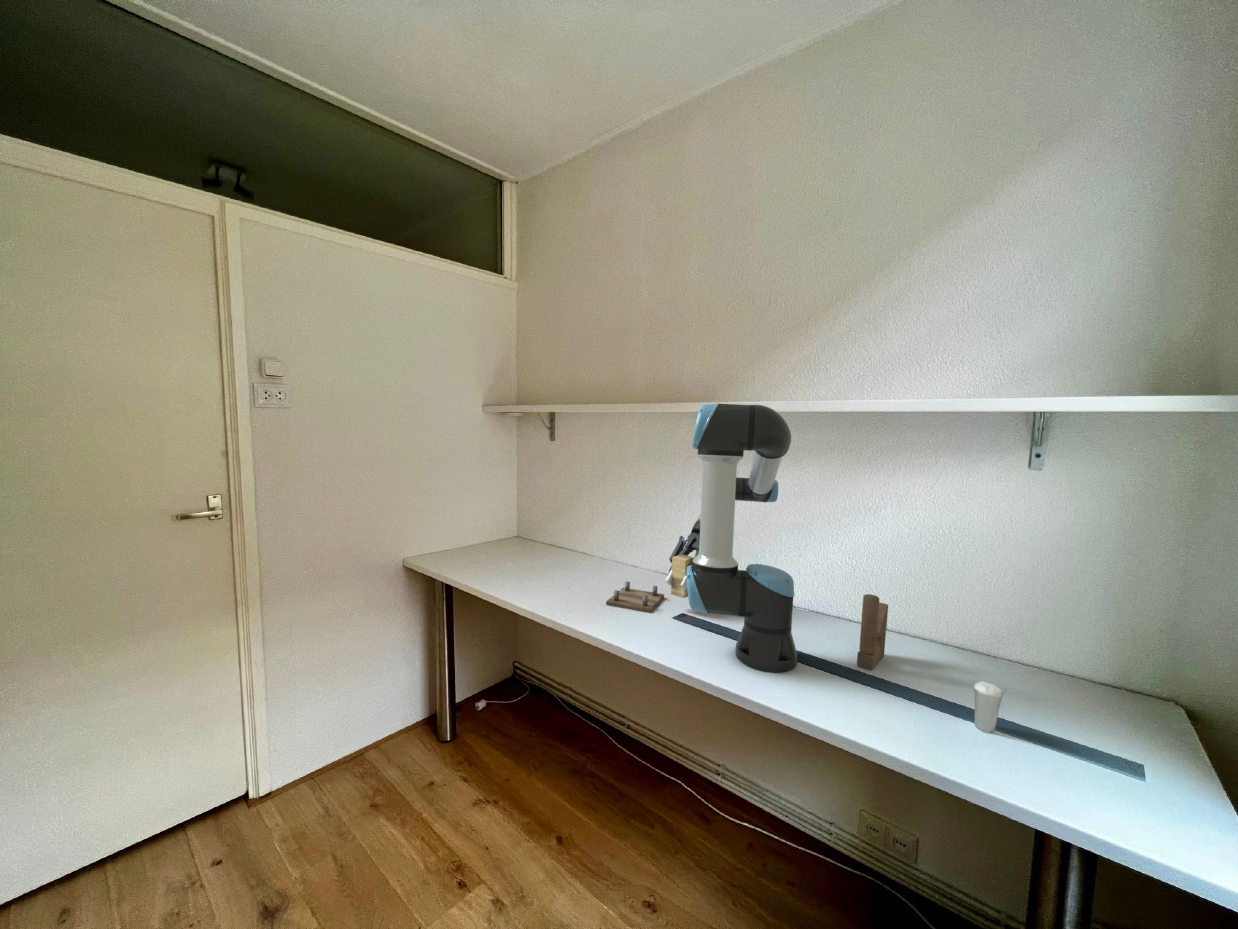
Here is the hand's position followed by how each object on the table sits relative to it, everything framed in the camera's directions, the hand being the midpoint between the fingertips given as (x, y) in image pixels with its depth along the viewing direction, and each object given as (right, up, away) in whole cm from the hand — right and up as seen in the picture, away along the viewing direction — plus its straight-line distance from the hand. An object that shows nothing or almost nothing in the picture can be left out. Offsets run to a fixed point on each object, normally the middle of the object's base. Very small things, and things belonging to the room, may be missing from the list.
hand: (675, 585), depth 153 cm
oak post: (+2, -4, +3) cm, 5 cm away
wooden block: (+47, -13, -27) cm, 56 cm away
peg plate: (-12, -8, +10) cm, 18 cm away
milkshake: (+56, -16, -55) cm, 80 cm away
